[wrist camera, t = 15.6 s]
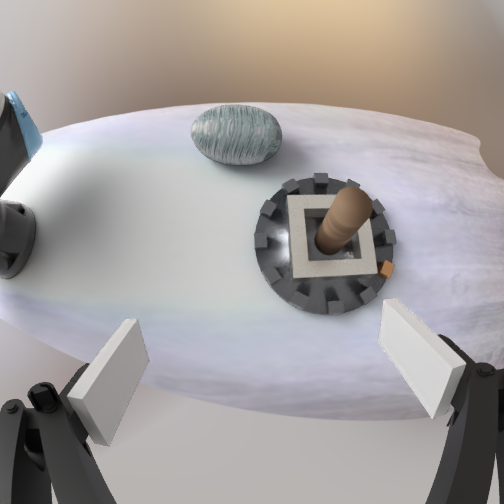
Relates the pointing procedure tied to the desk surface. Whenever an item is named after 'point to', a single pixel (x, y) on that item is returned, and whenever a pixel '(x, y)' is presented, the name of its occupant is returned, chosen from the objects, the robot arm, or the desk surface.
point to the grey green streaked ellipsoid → (237, 134)
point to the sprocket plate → (314, 262)
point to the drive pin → (343, 220)
